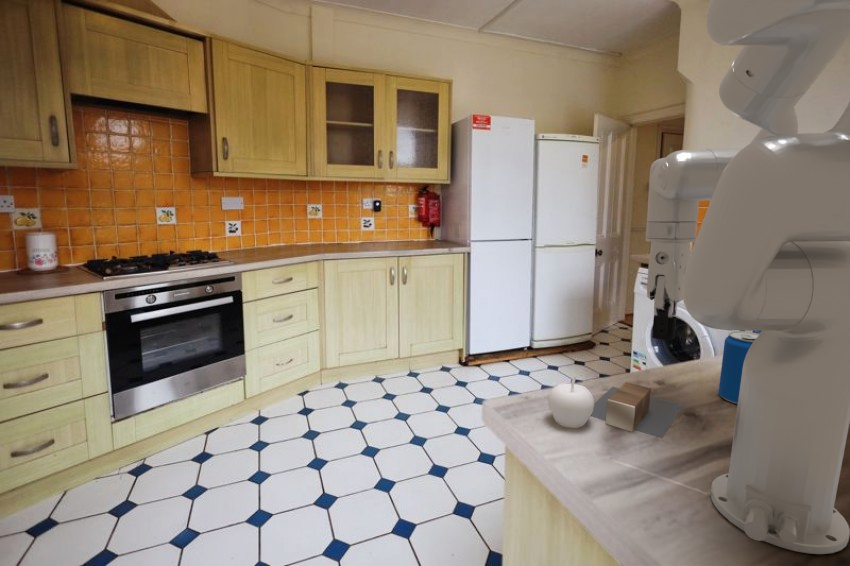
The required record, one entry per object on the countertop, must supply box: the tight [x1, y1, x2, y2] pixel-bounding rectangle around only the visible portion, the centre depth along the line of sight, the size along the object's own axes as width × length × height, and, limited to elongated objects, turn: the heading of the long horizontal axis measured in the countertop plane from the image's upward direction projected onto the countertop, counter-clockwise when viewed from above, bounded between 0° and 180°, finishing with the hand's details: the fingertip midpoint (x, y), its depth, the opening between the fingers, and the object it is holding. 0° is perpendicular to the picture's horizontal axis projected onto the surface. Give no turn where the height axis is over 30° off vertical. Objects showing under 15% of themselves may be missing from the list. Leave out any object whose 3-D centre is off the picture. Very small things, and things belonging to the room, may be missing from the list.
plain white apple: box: [547, 375, 595, 429], centre depth 73 cm, size 7×7×8 cm
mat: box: [590, 386, 685, 439], centre depth 77 cm, size 14×12×1 cm
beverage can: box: [717, 330, 760, 405], centre depth 80 cm, size 6×6×12 cm
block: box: [605, 381, 652, 433], centre depth 74 cm, size 4×4×9 cm
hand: (663, 338), depth 80 cm, fingers closed
